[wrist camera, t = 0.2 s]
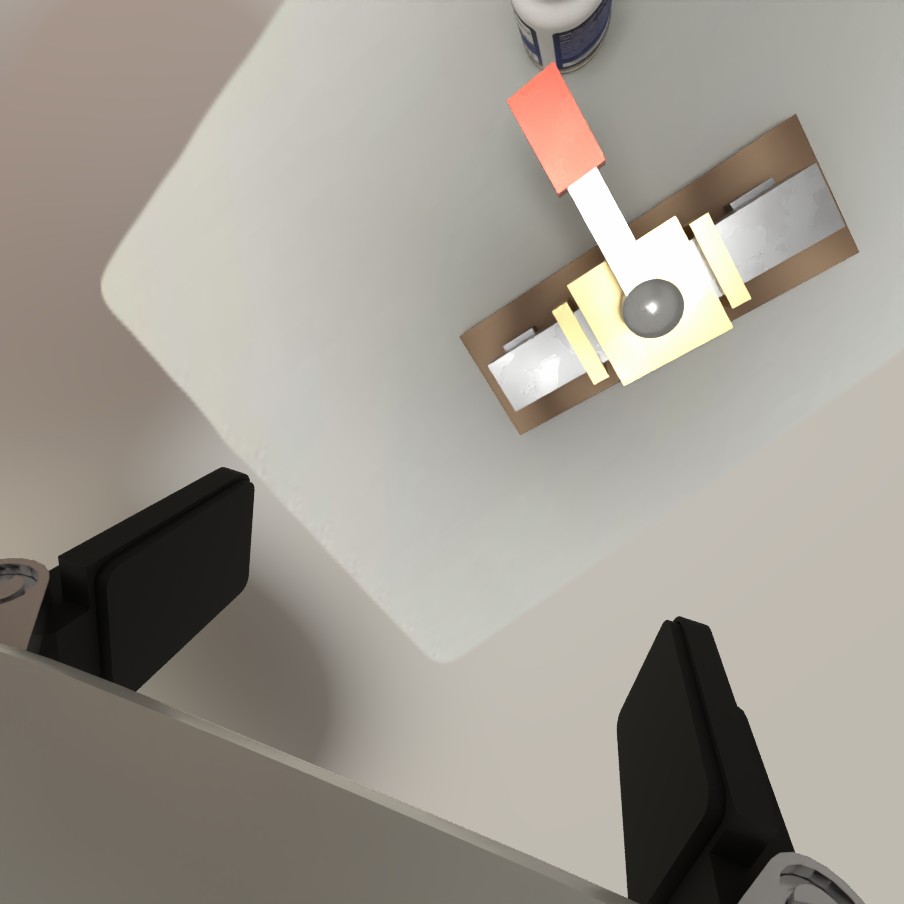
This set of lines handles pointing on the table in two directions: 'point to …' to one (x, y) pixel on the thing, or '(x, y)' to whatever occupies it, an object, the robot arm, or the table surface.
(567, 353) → the valve
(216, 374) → the table surface
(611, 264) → the lever
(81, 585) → the robot arm
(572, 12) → the pill bottle
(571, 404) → the mount board
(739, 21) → the table surface
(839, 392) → the table surface
